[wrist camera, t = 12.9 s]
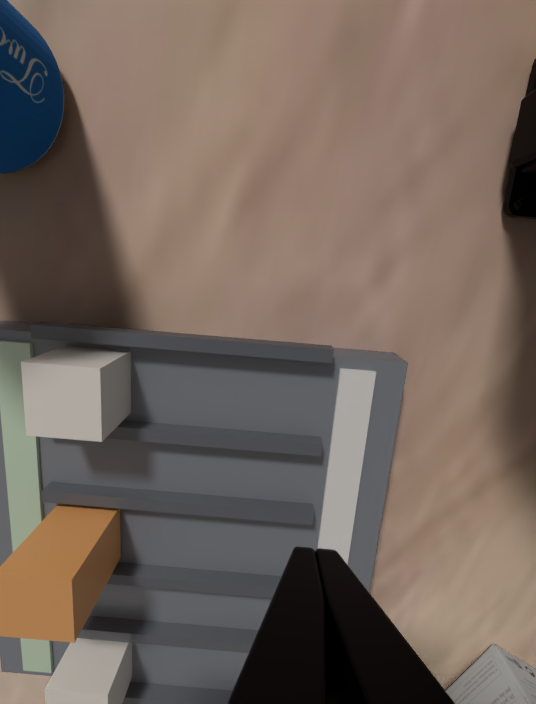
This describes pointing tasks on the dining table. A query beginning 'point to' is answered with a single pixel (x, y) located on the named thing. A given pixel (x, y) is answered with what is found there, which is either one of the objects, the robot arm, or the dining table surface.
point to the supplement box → (495, 680)
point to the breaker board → (187, 489)
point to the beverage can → (26, 92)
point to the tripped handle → (59, 573)
